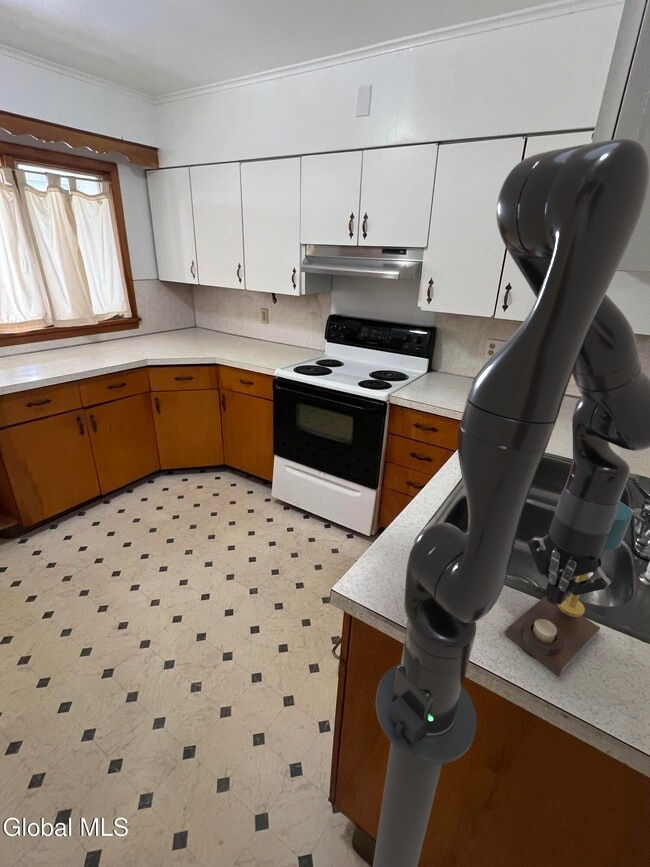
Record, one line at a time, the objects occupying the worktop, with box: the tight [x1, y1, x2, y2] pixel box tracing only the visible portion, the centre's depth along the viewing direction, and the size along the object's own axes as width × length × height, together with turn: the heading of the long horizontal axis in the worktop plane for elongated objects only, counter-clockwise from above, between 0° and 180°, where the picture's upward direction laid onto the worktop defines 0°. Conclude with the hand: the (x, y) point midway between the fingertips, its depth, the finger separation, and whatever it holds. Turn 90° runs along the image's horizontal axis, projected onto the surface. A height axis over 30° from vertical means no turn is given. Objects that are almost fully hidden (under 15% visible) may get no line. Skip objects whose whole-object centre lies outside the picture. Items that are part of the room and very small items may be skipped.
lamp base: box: [505, 595, 601, 677], centre depth 78 cm, size 15×10×4 cm
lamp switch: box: [532, 619, 557, 643], centre depth 75 cm, size 4×4×2 cm
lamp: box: [558, 501, 634, 617], centre depth 75 cm, size 7×7×23 cm
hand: (553, 601), depth 72 cm, fingers closed
